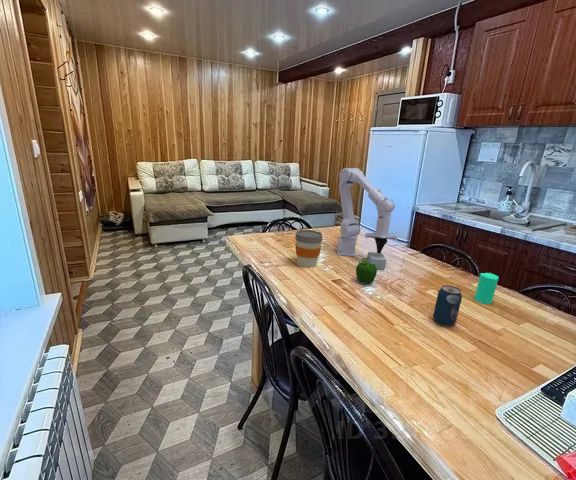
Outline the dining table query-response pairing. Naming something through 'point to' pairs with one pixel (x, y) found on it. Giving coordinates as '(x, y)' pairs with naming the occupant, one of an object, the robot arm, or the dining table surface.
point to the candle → (486, 288)
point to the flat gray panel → (376, 267)
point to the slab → (376, 259)
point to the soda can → (447, 305)
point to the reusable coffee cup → (308, 247)
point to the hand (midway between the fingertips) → (378, 252)
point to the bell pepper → (366, 272)
